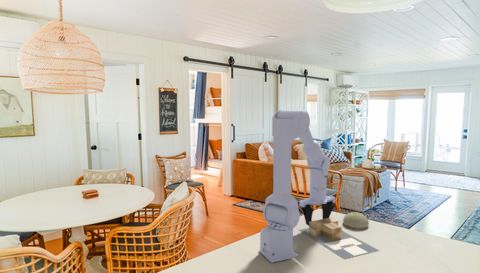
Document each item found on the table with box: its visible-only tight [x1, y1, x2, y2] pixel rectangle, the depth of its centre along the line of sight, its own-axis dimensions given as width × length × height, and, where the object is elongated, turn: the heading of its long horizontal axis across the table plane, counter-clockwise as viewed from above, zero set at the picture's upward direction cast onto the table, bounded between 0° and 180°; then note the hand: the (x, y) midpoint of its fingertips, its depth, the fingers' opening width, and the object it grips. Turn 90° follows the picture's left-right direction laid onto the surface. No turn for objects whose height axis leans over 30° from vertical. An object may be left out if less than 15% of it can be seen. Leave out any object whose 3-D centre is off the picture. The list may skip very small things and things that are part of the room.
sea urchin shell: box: [342, 211, 370, 230], centre depth 114 cm, size 9×8×8 cm
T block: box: [308, 217, 343, 241], centre depth 104 cm, size 10×8×4 cm
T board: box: [299, 227, 380, 260], centre depth 101 cm, size 14×23×1 cm, turn 24°
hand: (317, 223), depth 110 cm, fingers open, 7 cm apart
